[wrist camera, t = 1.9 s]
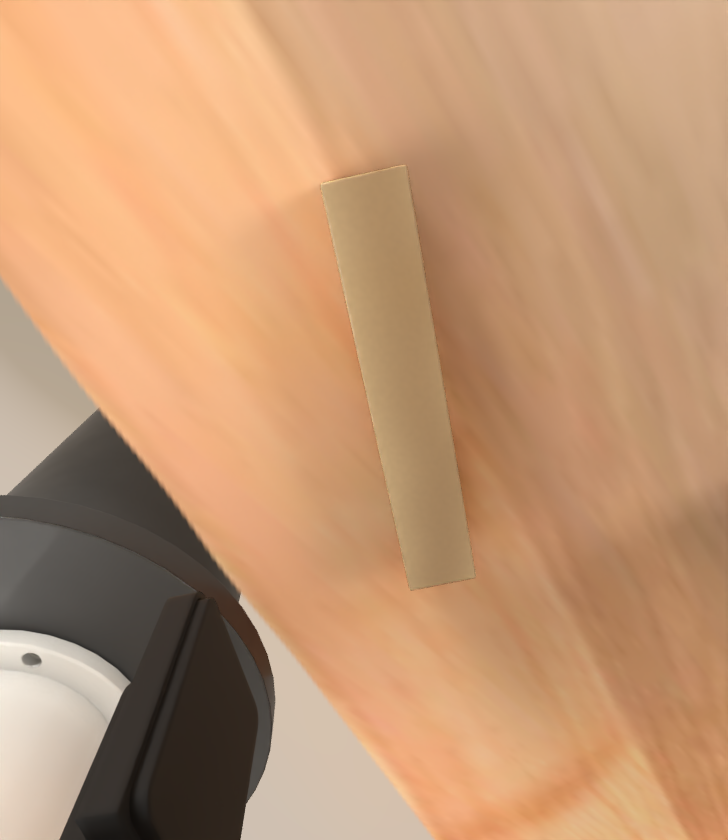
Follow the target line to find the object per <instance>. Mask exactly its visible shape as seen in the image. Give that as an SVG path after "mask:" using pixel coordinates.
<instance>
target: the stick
mask: <svg viewBox="0 0 728 840" xmlns="http://www.w3.org/2000/svg"><path fill="white" fill-rule="evenodd" d="M320 189H321V193H322V198H323V202H324V207H325V211H326V216H327V220H328V225H329V229H330V234H331V238H332V243H333V247H334V252H335V256H336V261H337V265H338V270H339V274H340V279H341V283H342V288H343V292H344V297H345V301H346V306H347V310H348V315H349V319H350V324H351V328H352V333H353V337H354V342H355V346H356V351H357V355H358V360H359V364H360V369H361V373H362V378H363V383H364V387H365V392H366V396H367V401H368V405H369V410H370V414H371V419H372V423H373V428H374V432H375V437H376V441H377V446H378V450H379V455H380V459H381V464H382V468H383V473H384V477H385V482H386V486H387V491H388V495H389V500H390V504H391V509H392V513H393V518H394V522H395V527H396V531H397V536H398V540H399V545H400V549H401V554H402V558H403V563H404V567H405V572H406V576H407V581H408V585H409V589H410V590H411V591H412V590H417V589H422V588H428V587H433V586H438V585H443V584H448V583H453V582H458V581H463V580H468V579H473V578H476V572H475V566H474V560H473V554H472V548H471V542H470V537H469V531H468V525H467V519H466V513H465V507H464V501H463V495H462V489H461V483H460V477H459V471H458V465H457V459H456V453H455V447H454V442H453V436H452V430H451V424H450V418H449V412H448V406H447V400H446V394H445V388H444V382H443V376H442V370H441V364H440V358H439V353H438V347H437V341H436V335H435V329H434V323H433V317H432V311H431V305H430V299H429V293H428V287H427V281H426V275H425V269H424V263H423V258H422V252H421V246H420V240H419V234H418V228H417V222H416V216H415V210H414V204H413V198H412V192H411V186H410V180H409V174H408V169H407V166H406V165H405V164H403V165H398V166H394V167H389V168H385V169H381V170H376V171H372V172H367V173H363V174H359V175H354V176H350V177H345V178H341V179H337V180H332V181H328V182H323V183H321V184H320Z"/></svg>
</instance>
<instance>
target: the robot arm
mask: <svg viewBox="0 0 728 840" xmlns="http://www.w3.org/2000/svg"><path fill="white" fill-rule="evenodd" d="M257 731H258V710H257V706H256V703H255V700H254V697H253V695H252V692H251V690H250V687H249V685H248V682H247V680H246V677H245V674H244V672H243V669H242V667H241V664H240V662H239V659H238V656H237V654H236V651H235V649H234V646H233V644H232V641H231V639H230V636H229V633H228V631H227V628H226V626H225V623H224V621H223V618H222V615H221V613H220V610H219V608H218V605H217V603H216V601H215V600H214V598H207V599H206V597H205V596H204V594H203V593H202V592H195V593H190V594H185V595H180V596H175V597H170V598H169V599H167V601H166V603H165V605H164V607H163V609H162V612H161V614H160V617H159V619H158V621H157V624H156V626H155V628H154V631H153V633H152V636H151V638H150V640H149V643H148V645H147V647H146V650H145V652H144V655H143V657H142V659H141V662H140V664H139V667H138V669H137V671H136V674H135V676H134V678H133V681H132V682H130V681H129V680H128V679H127V678H126V677H125V676H124V675H123V674H122V673H121V672H120V671H119V670H118V669H117V668H115V667H114V666H112V665H111V664H110V663H108V662H107V661H105V660H104V659H103V658H101V657H100V656H98V655H97V654H95V653H93V652H91V651H89V650H87V649H85V648H83V647H81V646H79V645H77V644H75V643H72V642H69V641H66V640H63V639H60V638H57V637H54V636H51V635H46V634H40V633H35V632H29V631H23V630H0V840H240V838H241V832H242V826H243V819H244V813H245V807H246V801H247V794H248V788H249V782H250V775H251V769H252V763H253V756H254V750H255V744H256V737H257Z"/></svg>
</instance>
